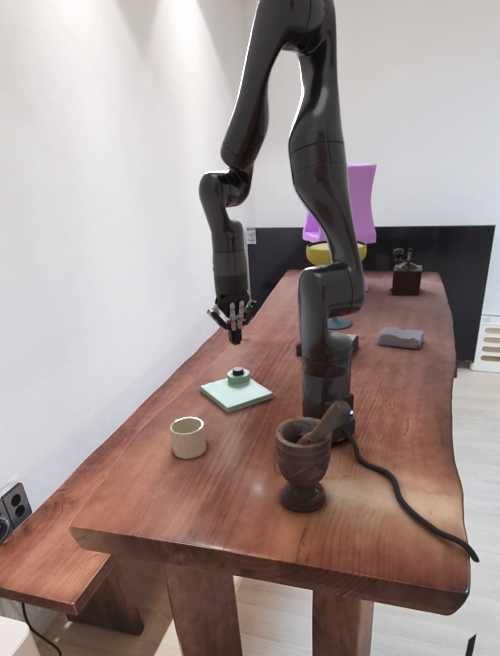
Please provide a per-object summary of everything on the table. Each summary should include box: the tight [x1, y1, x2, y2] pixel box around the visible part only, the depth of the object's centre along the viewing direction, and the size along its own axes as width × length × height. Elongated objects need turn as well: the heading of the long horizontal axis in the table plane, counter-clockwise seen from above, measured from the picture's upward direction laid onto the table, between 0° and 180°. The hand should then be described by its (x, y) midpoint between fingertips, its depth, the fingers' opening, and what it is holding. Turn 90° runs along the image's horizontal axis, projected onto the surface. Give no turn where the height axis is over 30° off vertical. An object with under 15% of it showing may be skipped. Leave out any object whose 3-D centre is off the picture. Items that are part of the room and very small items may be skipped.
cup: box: [169, 416, 207, 460], centre depth 90 cm, size 6×6×6 cm
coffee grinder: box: [389, 247, 423, 297], centre depth 175 cm, size 16×11×18 cm
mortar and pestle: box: [275, 401, 351, 513], centre depth 71 cm, size 12×9×20 cm
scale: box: [199, 368, 274, 414], centre depth 111 cm, size 14×12×3 cm
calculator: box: [295, 333, 360, 357], centre depth 131 cm, size 11×4×15 cm
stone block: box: [378, 325, 425, 350], centre depth 134 cm, size 12×5×10 cm
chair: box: [302, 163, 378, 292], centre depth 183 cm, size 22×22×45 cm
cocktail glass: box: [305, 241, 368, 330], centre depth 147 cm, size 18×18×25 cm
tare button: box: [232, 366, 244, 376], centre depth 115 cm, size 3×3×2 cm
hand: (236, 343), depth 111 cm, fingers closed
